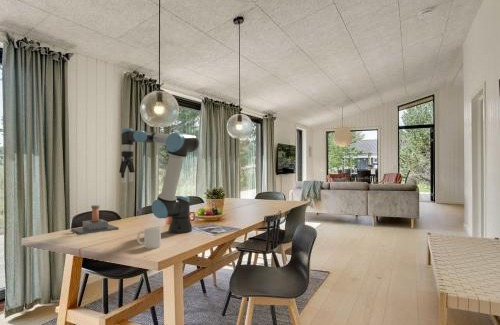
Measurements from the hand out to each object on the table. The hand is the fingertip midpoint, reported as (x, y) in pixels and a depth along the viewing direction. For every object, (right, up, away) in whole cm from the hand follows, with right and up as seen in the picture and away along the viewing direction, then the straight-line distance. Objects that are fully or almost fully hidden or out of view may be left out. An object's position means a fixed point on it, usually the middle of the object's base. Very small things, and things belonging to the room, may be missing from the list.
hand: (127, 182), depth 221 cm
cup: (+31, -32, -50) cm, 67 cm away
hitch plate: (-20, -32, -4) cm, 38 cm away
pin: (-20, -30, -4) cm, 37 cm away
